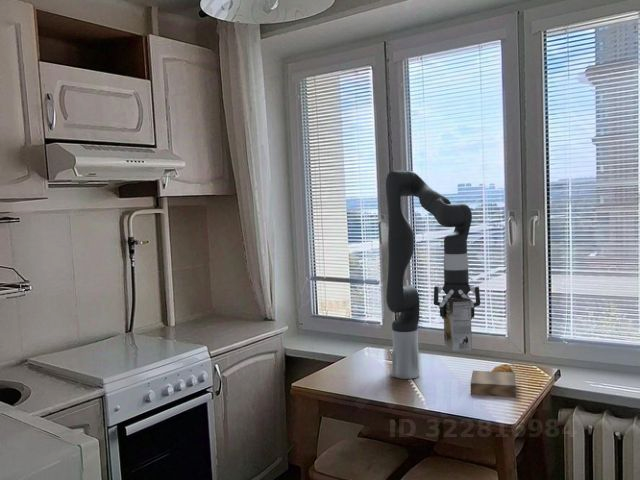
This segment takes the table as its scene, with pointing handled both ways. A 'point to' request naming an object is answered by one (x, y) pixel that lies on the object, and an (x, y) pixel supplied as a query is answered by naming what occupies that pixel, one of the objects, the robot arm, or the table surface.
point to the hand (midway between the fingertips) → (457, 318)
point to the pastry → (503, 368)
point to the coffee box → (458, 324)
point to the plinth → (493, 384)
